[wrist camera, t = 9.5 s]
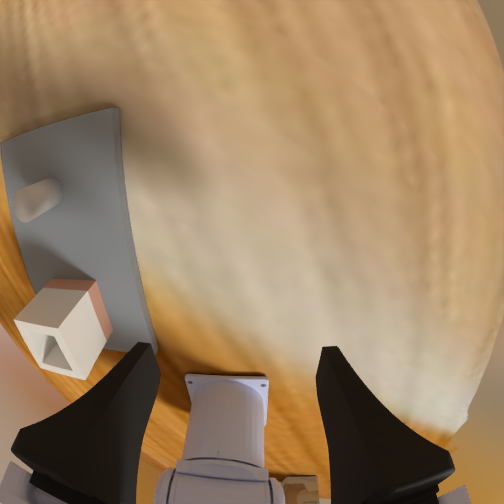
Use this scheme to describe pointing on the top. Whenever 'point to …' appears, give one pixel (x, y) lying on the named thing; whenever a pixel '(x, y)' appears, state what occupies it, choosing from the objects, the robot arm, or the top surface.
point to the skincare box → (301, 490)
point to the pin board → (78, 216)
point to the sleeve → (66, 326)
